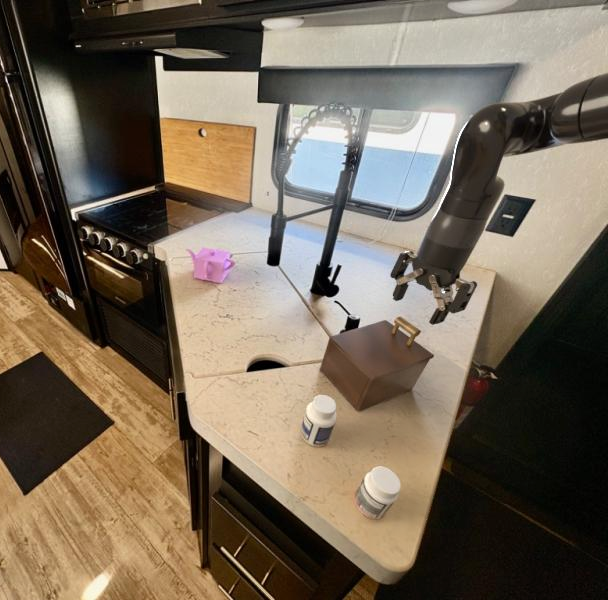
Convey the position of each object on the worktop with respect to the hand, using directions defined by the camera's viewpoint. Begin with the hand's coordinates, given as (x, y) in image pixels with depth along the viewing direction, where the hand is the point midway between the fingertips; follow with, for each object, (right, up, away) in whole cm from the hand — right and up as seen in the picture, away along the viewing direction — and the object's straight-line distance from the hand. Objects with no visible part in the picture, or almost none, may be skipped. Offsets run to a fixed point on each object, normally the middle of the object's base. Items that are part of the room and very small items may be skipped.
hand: (414, 310), depth 64 cm
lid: (-5, -8, +3) cm, 10 cm away
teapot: (-42, +11, +47) cm, 64 cm away
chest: (-6, -16, +9) cm, 19 cm away
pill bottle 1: (-22, -24, -3) cm, 33 cm away
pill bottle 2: (-16, -32, -12) cm, 37 cm away
